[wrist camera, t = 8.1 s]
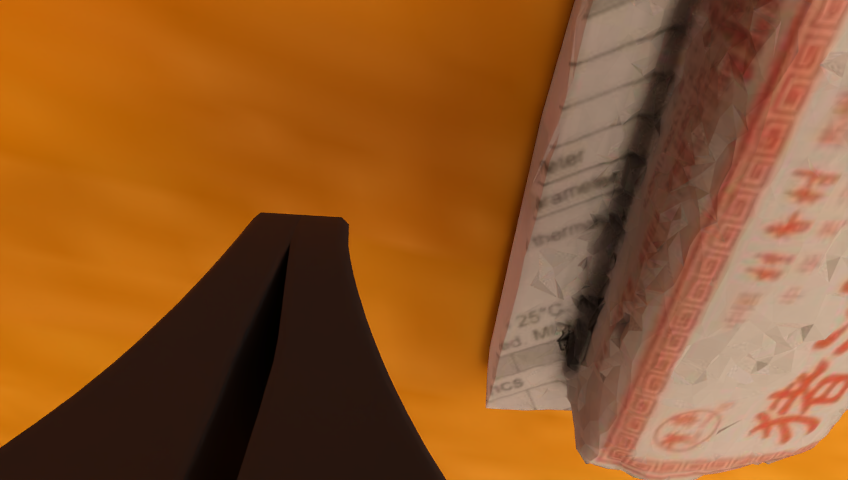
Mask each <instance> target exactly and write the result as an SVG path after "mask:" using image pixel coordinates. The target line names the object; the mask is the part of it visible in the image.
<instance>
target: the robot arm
mask: <svg viewBox="0 0 848 480" xmlns="http://www.w3.org/2000/svg"><path fill="white" fill-rule="evenodd" d="M348 236H349V224H348V223H347V222H346V221H345V220H344V219H343V218H342V217H326V216H310V215H293V214H277V213H260V214H258V215H257V216H256V217H255V218H253V220H252V221H251V222H250V223H249V225H248V226H247V227H246V228H245V229H244V231H243V232H242V233H241V234H240V236H239V237H238V238H237V239H236V240H235V242H234V243H233V244H232V245H231V246H230V247H229V249H228V250H227V251H226V252H225V253H224V254H223V255H222V257H221V258H220V259H219V260H218V261H217V262H216V263H215V264H214V266H213V267H212V268H211V269H210V270H209V271H208V272H207V273H206V274H205V275H204V276H203V277H202V278H201V280H200V281H199V282H198V283H197V284H196V285H195V286H194V287H193V288H192V289H191V290H190V291H189V292H188V293H187V294H186V295H185V296H184V298H183V299H182V300H181V301H180V302H179V303H178V304H177V305H176V306H175V307H174V308H173V309H172V310H170V311H169V312H168V313H167V314H166V315H165V316H164V317H163V318H162V319H161V320H160V321H159V322H158V323H157V324H156V325H155V326H154V327H153V328H151V329H150V330H149V331H148V332H147V333H146V334H145V335H144V336H143V337H142V338H141V339H140V340H139V341H138V342H137V343H136V344H134V345H133V346H132V347H131V348H130V349H129V350H128V351H127V352H125V353H124V354H123V355H122V356H121V357H120V358H118V359H117V360H116V361H115V362H114V363H113V364H111V365H110V366H109V367H108V368H107V369H105V370H104V371H103V372H102V373H101V374H99V375H98V376H97V377H96V378H94V379H93V380H92V381H91V382H89V383H88V384H87V385H86V386H84V387H83V388H82V389H81V390H79V391H78V392H77V393H76V394H74V395H73V396H72V397H70V398H69V399H68V400H67V401H65V402H64V403H62V404H61V405H60V406H58V407H57V408H56V409H54V410H53V411H52V412H50V413H49V414H47V415H46V416H45V417H43V418H42V419H41V420H39V421H38V422H36V423H35V424H34V425H32V426H31V427H29V428H28V429H27V430H25V431H24V432H22V433H21V434H19V435H18V436H17V437H15V438H14V439H12V440H11V441H9V442H8V443H7V444H5V445H4V446H2V447H1V448H0V480H446V479H445V477H444V476H443V474H442V472H441V471H440V469H439V468H438V466H437V464H436V463H435V461H434V460H433V458H432V456H431V455H430V453H429V452H428V450H427V448H426V447H425V445H424V443H423V441H422V439H421V438H420V436H419V434H418V432H417V430H416V428H415V427H414V425H413V423H412V421H411V419H410V417H409V415H408V414H407V412H406V410H405V408H404V406H403V404H402V402H401V400H400V398H399V396H398V394H397V392H396V390H395V387H394V385H393V383H392V381H391V379H390V377H389V375H388V372H387V370H386V368H385V365H384V363H383V361H382V358H381V356H380V353H379V351H378V348H377V346H376V343H375V341H374V338H373V336H372V333H371V330H370V328H369V325H368V322H367V319H366V316H365V313H364V310H363V307H362V303H361V300H360V297H359V294H358V290H357V287H356V283H355V279H354V275H353V270H352V265H351V261H350V255H349V248H348Z"/></svg>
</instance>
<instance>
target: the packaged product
mask: <svg viewBox="0 0 848 480" xmlns="http://www.w3.org/2000/svg"><path fill="white" fill-rule="evenodd" d="M486 408H492V409H513V410H545V409H553V410H572V414H573V421H574V428H575V440H576V449H577V450H578V452H579V453H580V455H581V457H582V458H583V460H584V461H585V463H586V464H588V463H591V464H594V465H597V466H600V467H604V468H607V469H617V470H622V471H624V472H626V473H627V474H629V475H631V476H633V477H635V478H639V479H644V480H695V479H697V478H699V477H701V476H703V475H706V474H714V473H720V472H724V471H728V470H733V469H737V468H741V467H744V466H747V465H750V464H757V465H759V464H760V463H762V462H765V463H767V464H770V463H772V462H775V461H778V460H781V459H783V458H786V457H790V456H793V455H796V454H800V453H802V452H805V451H807V450H810V449H811V448H813V447H815V446H816V444H817V443H818V442H819V441H820V440H822V439H823V438H824V437H825V436H826V435H827V434H828V433H829V431H830V430H831V429H832V427H833V426H834V425H835V424H836V423H837V422H838V421H839V419H840V418H841V416H842V414H843V413H844V412H845V411H846V410H847V409H848V0H575V2H574V5H573V9H572V12H571V16H570V19H569V23H568V26H567V30H566V33H565V37H564V40H563V44H562V47H561V51H560V54H559V58H558V61H557V65H556V68H555V72H554V75H553V79H552V82H551V86H550V89H549V93H548V96H547V100H546V103H545V107H544V110H543V114H542V117H541V121H540V126H539V130H538V135H537V139H536V144H535V148H534V152H533V157H532V161H531V166H530V170H529V175H528V179H527V184H526V188H525V193H524V197H523V201H522V206H521V210H520V215H519V219H518V224H517V228H516V233H515V237H514V242H513V246H512V251H511V255H510V260H509V264H508V269H507V273H506V278H505V282H504V287H503V291H502V296H501V300H500V305H499V309H498V314H497V318H496V322H495V327H494V331H493V336H492V340H491V345H490V351H489V361H488V371H487V393H486Z"/></svg>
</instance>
